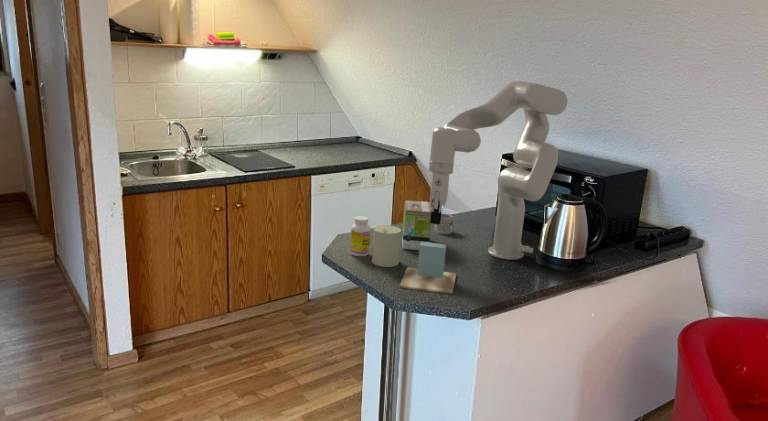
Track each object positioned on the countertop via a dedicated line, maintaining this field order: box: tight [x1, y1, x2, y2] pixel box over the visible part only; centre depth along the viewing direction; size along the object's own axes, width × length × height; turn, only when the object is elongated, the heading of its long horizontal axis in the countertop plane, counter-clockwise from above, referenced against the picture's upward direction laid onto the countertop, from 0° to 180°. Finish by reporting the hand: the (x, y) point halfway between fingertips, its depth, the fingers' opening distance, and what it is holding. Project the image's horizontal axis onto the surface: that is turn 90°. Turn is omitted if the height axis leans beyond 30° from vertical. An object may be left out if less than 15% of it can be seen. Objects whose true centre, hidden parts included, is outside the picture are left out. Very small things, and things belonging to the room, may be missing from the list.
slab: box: [417, 242, 447, 278], centre depth 189 cm, size 8×4×10 cm, turn 79°
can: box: [371, 224, 402, 268], centre depth 199 cm, size 9×9×12 cm
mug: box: [434, 213, 454, 236], centre depth 238 cm, size 10×7×7 cm, turn 12°
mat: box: [399, 267, 457, 295], centre depth 186 cm, size 16×16×1 cm
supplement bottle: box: [349, 215, 372, 257], centre depth 205 cm, size 7×7×13 cm
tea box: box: [401, 199, 432, 251], centre depth 219 cm, size 15×10×15 cm
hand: (435, 223), depth 192 cm, fingers closed
